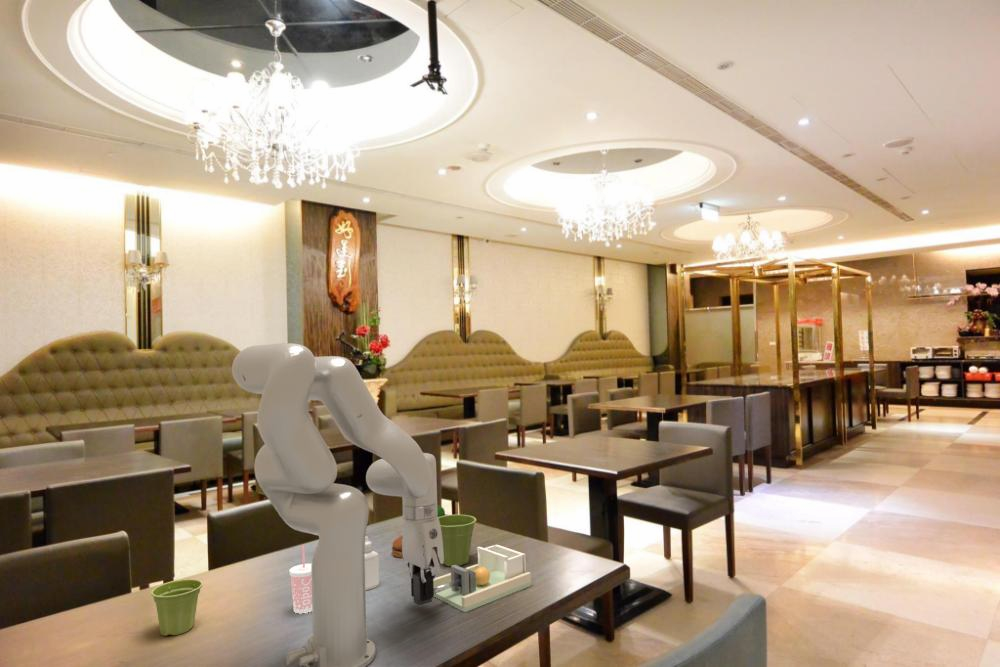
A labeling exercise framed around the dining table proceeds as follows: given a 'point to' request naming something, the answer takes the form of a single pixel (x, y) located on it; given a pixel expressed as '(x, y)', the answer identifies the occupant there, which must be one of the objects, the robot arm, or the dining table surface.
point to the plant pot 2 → (456, 538)
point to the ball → (482, 576)
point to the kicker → (441, 586)
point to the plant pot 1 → (176, 605)
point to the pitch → (503, 579)
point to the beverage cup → (301, 586)
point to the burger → (397, 548)
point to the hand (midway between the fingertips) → (422, 596)
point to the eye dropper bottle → (371, 566)
